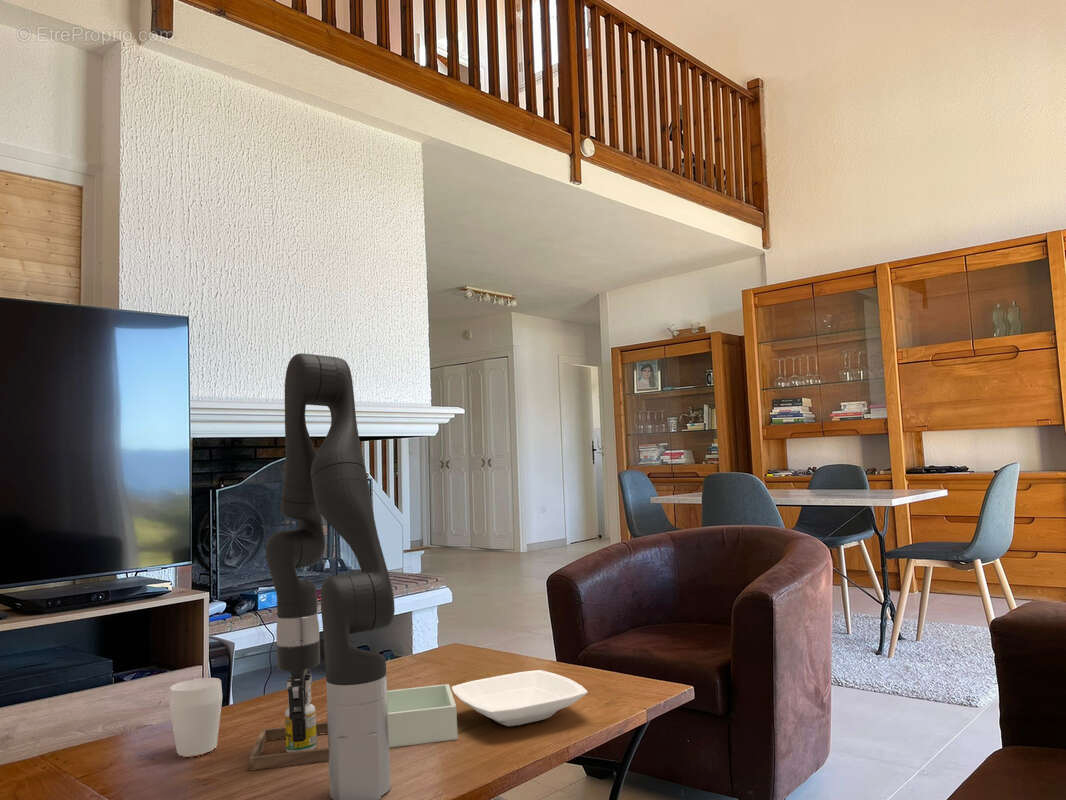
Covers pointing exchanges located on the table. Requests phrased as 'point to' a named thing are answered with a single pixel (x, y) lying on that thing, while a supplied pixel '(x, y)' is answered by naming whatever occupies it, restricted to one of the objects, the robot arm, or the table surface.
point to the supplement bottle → (310, 730)
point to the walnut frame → (289, 757)
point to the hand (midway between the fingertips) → (301, 735)
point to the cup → (196, 715)
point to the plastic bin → (421, 715)
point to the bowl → (520, 696)
